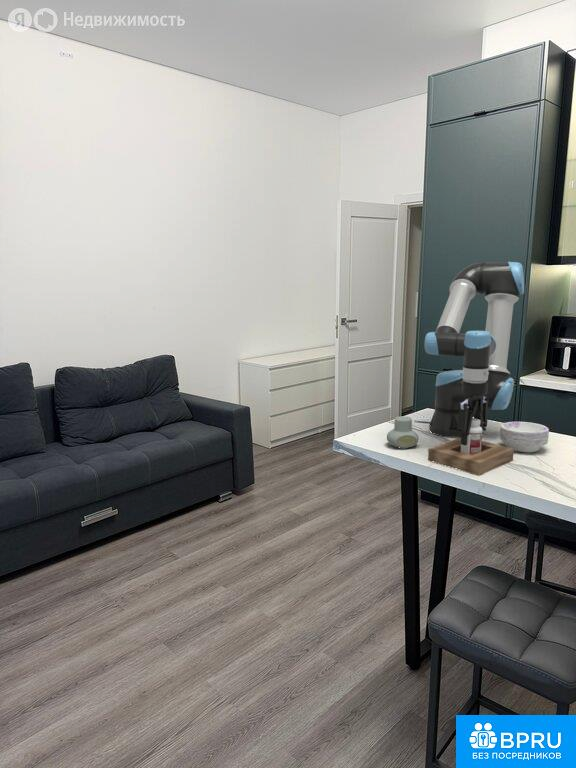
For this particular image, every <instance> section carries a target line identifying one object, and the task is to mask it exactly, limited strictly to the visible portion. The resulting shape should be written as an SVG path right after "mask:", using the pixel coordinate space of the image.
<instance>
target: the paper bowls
mask: <svg viewBox="0 0 576 768" xmlns="http://www.w3.org/2000/svg"><path fill="white" fill-rule="evenodd" d="M549 433H550V429H549V427H547V426H545V425H543V424H540V423H535V422H530V421H529V422H527V421H508V422H503V423H501V424H500V425H499V439H500V440H501V442H503V443H504V444H505V447H510V448H514V452H519V453H536V452H538V451H540V450H541V448H542V446H545V445H547V444H548V442H549Z"/></svg>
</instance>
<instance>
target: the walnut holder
mask: <svg viewBox="0 0 576 768" xmlns="http://www.w3.org/2000/svg"><path fill="white" fill-rule="evenodd" d="M514 452H515V451H514V448H510V447H507V446H506V445H500V444H497V443H494V442H489V441H484V440H482V448H481V452H480V453H477V454H475V455H472V456H471V455H468V454H464V453H461V437H457V438H455V439H452V440H449V441H447V442H444V443H443V442H442V443H440V444H438V445H434V446H432V447H429V448H428V457H427V461H428V460H430V462H432V461H434V462H433V463H435V462H436V463H435V464H438V463H439V465H442V464H443V465H442V466H445V465H446V466H445V467H448V466H450V467H449V468H452V467H453V468H452V469H455V468H457V469H456V470H459V469H460V470H459V471H462V470H463V471H462V472H465V471H466V473H470V474H472V475H475V474H476V476H481V475H484V474H485V473H488V472H491V471H493V470H495V469H497V468H499V467H501V466H503V465H506V464H509V463H510V462H513V461H514V454H515V453H514Z"/></svg>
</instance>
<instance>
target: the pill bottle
mask: <svg viewBox="0 0 576 768" xmlns="http://www.w3.org/2000/svg"><path fill="white" fill-rule="evenodd" d="M479 425H480V420H479V419H475V418H474V417H473V418H472V423H471V427H470V432H469V435H471V436H470V454H469V455H471V456H472V455H475V454H477V453H480V452H481V448H482V441H483V431H482V428H481V427H480V426H479Z"/></svg>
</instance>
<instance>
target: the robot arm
mask: <svg viewBox="0 0 576 768" xmlns="http://www.w3.org/2000/svg"><path fill="white" fill-rule="evenodd" d="M524 277H525V276H524V267H523V265H522V263H520V262H517V261H504V262H503V261H500V262H499V261H498V262H493V261H492V262H490V261H489V262H482V261H481V262H475V263H472V264H470V265H468V266H466V267H465V268H462V270H460V271H459V272H458V273H457V274H456V275H455V276H454V278H453V279H452V280H451V283H450V286H449V290H448V291H449V296H448V299H447V300H446V304H445V307H444V309H443V312H442V314H441V316H440V319H439V322H438V324H437V327H436V330H435V331H430V332H427V333H426V335H425V338H424V351H425V353H427V354H428V355H435V356H450V357H463V365H462V369H455V370H447V371H446V370H445V371H441V372H438V374H437V375H436V378H435V379H436V381H435V396H434V397H435V398H434V400H435V401H434V411H433V415H432V417H431V420H430V423H429V429H428V430H430V431H431V432H432V433H431V432H430V431H429V432H430V433H431V434H433V433H435V434H438V435H437V436H439V435H441V436H440V437H445V436H447V437H446V438H448V437H449V438H460V437H461V453H464V454H468V455H469V454H470V436H471V435H469V432H470V427H471V423H472V418H475V419H479V420H480V425H479V426H480V427H481V428H482V432H484V431H485V432H486V431H487V427H488V410H492V411H493V410H498V411H499V410H501V411H504V410H506V409H507V408H508V406H509V404H510V402H511V399H512V395H513V391H514V386H515V380H514V378H512V377H511V372H510V371H509V370H508V369H507V367H508V366H507V364H508V357H509V349H510V348H509V347H510V339H511V331H512V330H511V329H512V319H513V312H514V304H515V303H517V302H518V301H519V299H520V296H522V295H524V294H525V278H524ZM476 295H484V299H485V300H486V301H487V315H486V320H485V321H486V323H485V330H468V331H466V332H465V333H460V331H461V328H462V326H463V323H464V319H465V317H466V314H467V311H468V308H469V306H470V302H471V300H472V299H474V298H475V296H476ZM435 434H434V435H435Z"/></svg>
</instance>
